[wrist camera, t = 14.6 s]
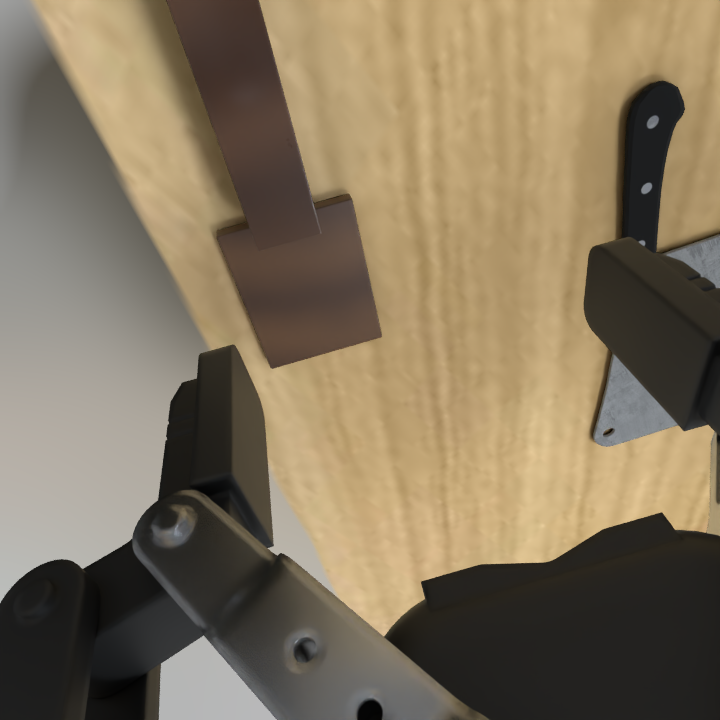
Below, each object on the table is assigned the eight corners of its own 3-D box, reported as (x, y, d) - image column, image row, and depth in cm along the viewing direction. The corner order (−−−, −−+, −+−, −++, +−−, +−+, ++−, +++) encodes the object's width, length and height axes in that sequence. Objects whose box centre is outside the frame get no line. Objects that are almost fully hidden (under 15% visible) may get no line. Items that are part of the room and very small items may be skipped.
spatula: (43, -190, 17) (8, -214, 14) (253, -243, 17) (259, -277, 14) (270, 361, 32) (274, 400, 30) (379, 329, 33) (394, 366, 30)
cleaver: (806, 30, 26) (615, 94, 26) (815, 31, 26) (621, 96, 26) (701, 413, 45) (590, 450, 45) (705, 417, 45) (594, 455, 45)
